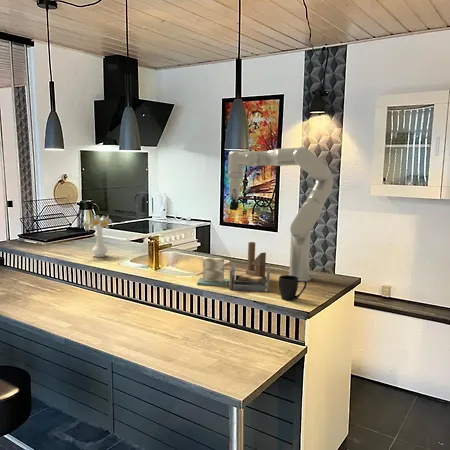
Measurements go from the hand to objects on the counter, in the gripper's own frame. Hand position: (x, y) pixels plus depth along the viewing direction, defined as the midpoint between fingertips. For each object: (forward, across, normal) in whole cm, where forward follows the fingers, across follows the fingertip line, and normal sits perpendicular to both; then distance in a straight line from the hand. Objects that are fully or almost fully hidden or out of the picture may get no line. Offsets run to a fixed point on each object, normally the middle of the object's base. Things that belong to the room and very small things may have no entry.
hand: (234, 209), depth 230 cm
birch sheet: (+33, +20, -8) cm, 40 cm away
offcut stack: (+35, +18, +10) cm, 40 cm away
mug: (+34, +40, +29) cm, 60 cm away
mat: (+34, +20, -8) cm, 40 cm away
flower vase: (+34, -26, -83) cm, 94 cm away
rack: (+34, +22, +10) cm, 42 cm away
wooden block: (+34, +7, +12) cm, 37 cm away
